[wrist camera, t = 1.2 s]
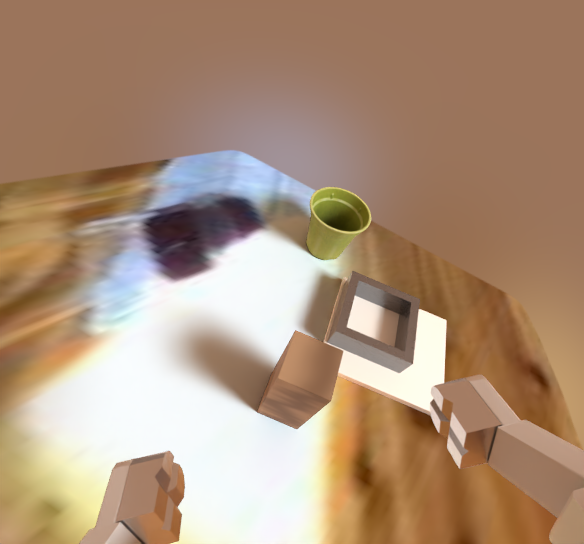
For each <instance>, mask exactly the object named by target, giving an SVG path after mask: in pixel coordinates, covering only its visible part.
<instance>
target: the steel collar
mask: <svg viewBox="0 0 584 544" xmlns="http://www.w3.org/2000/svg"><path fill="white" fill-rule="evenodd" d="M355 296H357V297H360V298H362V299H364V300H367V301H369V302H372V303H374V304H376V305H379V306H381V307H383V308H386V309H388V310H390V311H393V312H395V313H397V314H399V320H398V326H397V333H396V340H395V347H393V346H390V345H388V344H386V343H383V342H381V341H379V340H376V339H374V338H371V337H369V336H367V335H364V334H362V333H360V332H357V331H355V330H353V329H350V328H348V327H347V324H348V320H349V316H350V312H351V309H352V305H353V301H354V297H355ZM419 303H420V299H418V298H416V297H413V296H411V295H409V294H406V293H404V292H401V291H399V290H397V289H394V288H392V287H390V286H387V285H385V284H383V283H380V282H378V281H375V280H373V279H371V278H368V277H366V276H364V275H361V274H359V273H357V272H354V271H352V273H351V274H350V276H349V277H348V279H347V280H346V282H345V283H344V286H343V289H342V293H341V296H340V300H339V303H338V307H337V310H336V313H335V317H334V320H333V324H332V327H331V330H330V334H329V337H328V341H327V343H329V344H331V345H334V346H336V347H338V348H341V349H343V350H346V351H348V352H350V353H353V354H355V355H357V356H360V357H362V358H364V359H367V360H369V361H371V362H374V363H376V364H378V365H381V366H383V367H385V368H388V369H390V370H392V371H395V372H397V373H401V372H402V371H404V370H405V369H407V368H408V367H409V366H411V365H412V364H413V360H414V350H415V341H416V331H417V322H418V312H419Z"/></svg>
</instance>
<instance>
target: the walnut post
mask: <svg viewBox="0 0 584 544" xmlns="http://www.w3.org/2000/svg"><path fill="white" fill-rule="evenodd" d="M342 355H343V350H341V349H338V348H336V347H334V346H331V345H329V344H326V343H324V342H322V341H319V340H317V339H315V338H312V337H310V336H308V335H305V334H303V333H301V332H298V331H296V330H295V332H294V334H293V336H292V338H291V339H290V341H289V343H288V345H287V347H286V348H285V350H284V352H283V354H282V355H281V357H280V359H279V361H278V363H277V364H276V366H275V368H274V370H273V372H272V374H271V376H270V379H269V382H268V384H267V387H266V389H265V392H264V395H263V397H262V400H261V402H260V405H259V408H258V410H257V412H258V413H260V414H263V415H265V416H267V417H270V418H272V419H274V420H277V421H279V422H281V423H283V424H286V425H288V426H290V427H293V428H295V429H298V428H299V427H300V426H301V425H303V424H304V423H305V422H306V421H307V420H309V419H310V418H311V417H312V416H313V415H315V414H316V413H317V412H318V411H319V410H321V409H322V408H323V407H324V406H325V405H327V404H328V403H329V402H330V401H331V399H332V395H333V391H334V387H335V383H336V379H337V375H338V371H339V367H340V363H341V359H342Z"/></svg>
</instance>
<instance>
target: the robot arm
mask: <svg viewBox="0 0 584 544" xmlns="http://www.w3.org/2000/svg"><path fill="white" fill-rule="evenodd" d="M431 395H432V397H433V398H434V399H433V400H432V401H431V402H430V413H431V417H432V420H433V422H434V425H435V427H436V429H437V430H438V432H439V434H441V435H442V436H444V437H446V438H447V439H448V444H447V448H448V450H449V452H450V453H451V455H452V457H453V459H454V460H455V462H456V464H457V465H458V467H459V469H462V468H467V467H471V466H476V465H480V464H485V463H488V465H489V466H490V467H492V468H493V469H494V470H496V471H497V472H498V473H500V474H501V475H502V476H503V477H505V478H506V479H507V480H509V481H510V482H511V483H513V484H514V485H515V486H517V487H518V488H519V489H520V490H522V491H523V492H524V493H526V494H527V495H528V496H530V497H531V498H532V499H534V500H535V501H536V502H537V503H539V504H540V505H541V506H543V507H544V508H545V509H547V510H548V511H549V512H551V513H552V514H553V515H554V516H556V517H557V518H558V519H557V520H556V522H555V524H554V526H553V528H552V529H551V531H550V535H549V539H550V541H551V542H552V544H584V451H583V450H581V449H579V448H578V447H576V446H574V445H572V444H570V443H568V442H566V441H564V440H563V439H561V438H559V437H557V436H555V435H553V434H551V433H550V432H548V431H546V430H544V429H542V428H540V427H538V426H536V425H535V424H533V423H531V422H529V421H527V420H522V421H521V420H520V419H519V418H518V417H517V416H516V414H515V413H514V412H513V411H512V410H511V408H510V407H509V406H508V405H507V404H506V402H505V401H504V400H503V399H502V397H501V396H500V395H499V394H498V393H497V391H496V390H495V389H494V388H493V387H492V385H491V384H490V383H489V382H488V381H487V379H486V378H485V377H484V376H482V375H474V376H471V377H467V378H461V379H457V380H454V381H450V382H446V383H442V384H438V385H435V386H433V387H432V388H431ZM173 459H174V456H173V455H172V453H171V452H170V451H166V452H162V453H158V454H154V455H149V456H145V457H141V458H137V459H131V460H127V461H123V462H119V463H116V465H115V467H114V468H113V470H112V472H111V476H110V479H109V482H108V486H107V489H106V493H105V496H104V499H103V503H102V506H101V509H100V513H99V516H98V519H97V523H96V526H95V528H93V529H90V530H89V531H88V532H87V533H86V535H85V536H84V537H83V539H82V540H81V541H80V543H79V544H170V543H173V542H177V541H179V534H180V526H181V517H182V514H181V512H180V511H179V509H178V505H179V504H180V502H181V501H182V499H183V498H184V488H185V484H184V475H183V471H182V468H181V467H180V465H179V464H176V463H174V462H173Z"/></svg>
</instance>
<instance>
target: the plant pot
mask: <svg viewBox="0 0 584 544" xmlns="http://www.w3.org/2000/svg"><path fill="white" fill-rule="evenodd" d="M310 210H311V219H310V225H309V230H308V235H307V240H306V244H307V246H308V249H309V251H310V252H311V253H312V254H313V255H314V256H315V257H317V258H319V259H322V260H329V259H336V258H337V257H339V255H340V254H341V253H342V252H343V250H344V249H345V248H346V247H347V246H348V244H349V243H350V242H351V241H352V240H353V238H354V237H355V236H356V235H358V234H359V233H361V232H363V231H364V230H365V229H367V227H368V226H369V224H370V222H371V213H370V210H369V208H368V206H367V205H366V203H365V202H364V201H363V200H361V198H360V197H358V196H357V195H355V194H354V193H352V192H349V191H348V190H344V189H342V188H336V187H327V188H322V189H319V190H317V191H316V192H315V193H314V194H313V195H312V197H311V200H310Z"/></svg>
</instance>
